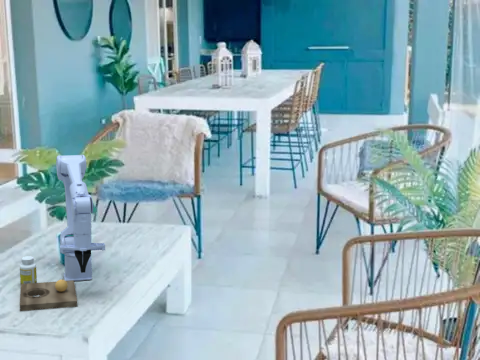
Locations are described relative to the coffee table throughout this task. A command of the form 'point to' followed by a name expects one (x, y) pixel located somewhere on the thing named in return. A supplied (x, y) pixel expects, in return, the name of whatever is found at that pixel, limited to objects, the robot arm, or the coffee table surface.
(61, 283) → the ball
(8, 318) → the coffee table surface
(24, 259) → the supplement bottle
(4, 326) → the coffee table surface
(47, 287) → the wooden board with hole
